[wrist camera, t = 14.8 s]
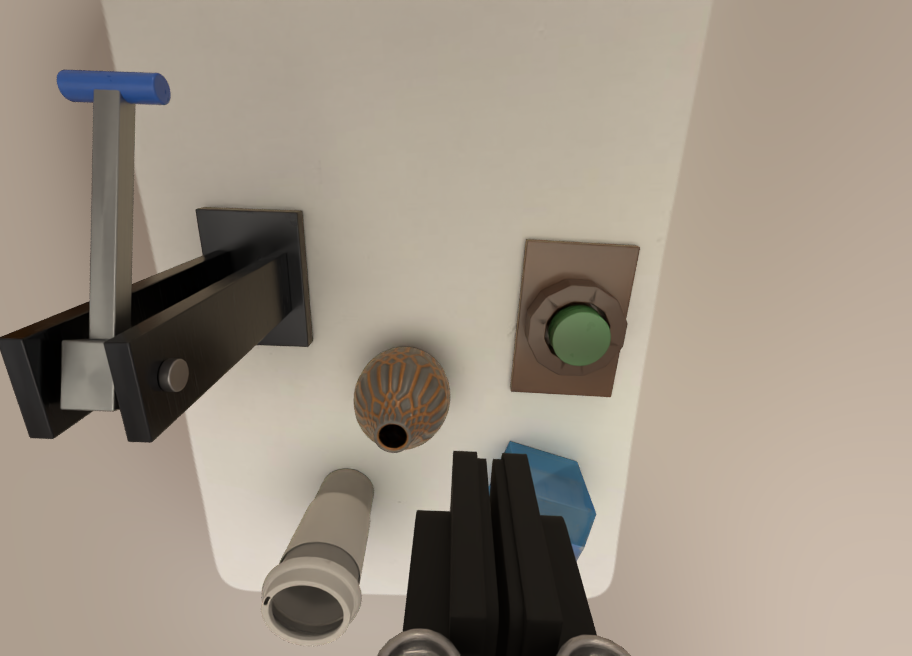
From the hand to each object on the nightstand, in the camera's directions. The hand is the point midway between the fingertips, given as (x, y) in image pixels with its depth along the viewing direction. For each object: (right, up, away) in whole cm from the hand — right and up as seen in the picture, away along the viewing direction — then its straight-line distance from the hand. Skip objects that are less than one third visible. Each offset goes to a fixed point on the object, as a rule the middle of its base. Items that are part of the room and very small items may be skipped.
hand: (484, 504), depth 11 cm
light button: (+8, +4, +23) cm, 25 cm away
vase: (-5, 0, +27) cm, 27 cm away
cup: (-10, -10, +31) cm, 34 cm away
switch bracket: (-15, +8, +24) cm, 30 cm away
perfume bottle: (+6, -9, +30) cm, 32 cm away
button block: (+8, +5, +25) cm, 27 cm away
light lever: (-15, +8, +10) cm, 20 cm away
